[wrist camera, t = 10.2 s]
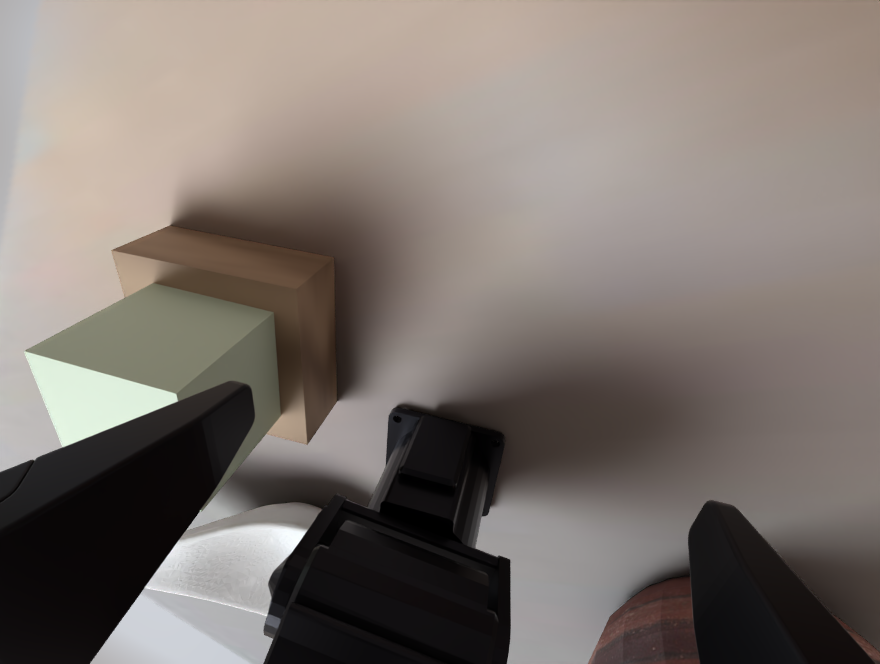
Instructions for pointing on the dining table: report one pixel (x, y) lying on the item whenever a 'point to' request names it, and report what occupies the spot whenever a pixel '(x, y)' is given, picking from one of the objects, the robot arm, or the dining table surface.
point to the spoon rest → (235, 556)
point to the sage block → (157, 362)
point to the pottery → (663, 629)
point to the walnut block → (255, 306)
